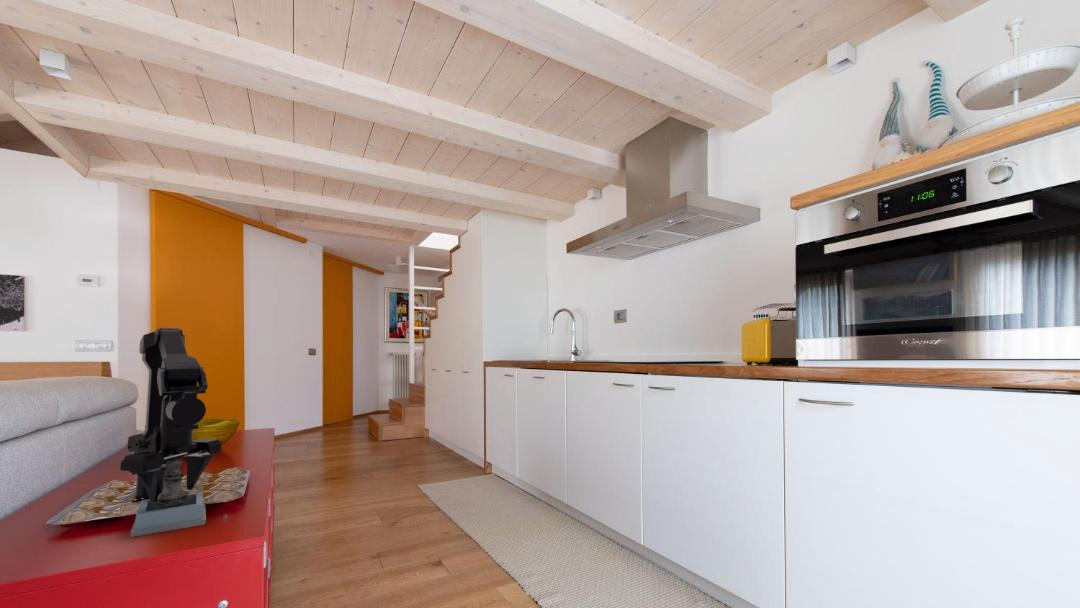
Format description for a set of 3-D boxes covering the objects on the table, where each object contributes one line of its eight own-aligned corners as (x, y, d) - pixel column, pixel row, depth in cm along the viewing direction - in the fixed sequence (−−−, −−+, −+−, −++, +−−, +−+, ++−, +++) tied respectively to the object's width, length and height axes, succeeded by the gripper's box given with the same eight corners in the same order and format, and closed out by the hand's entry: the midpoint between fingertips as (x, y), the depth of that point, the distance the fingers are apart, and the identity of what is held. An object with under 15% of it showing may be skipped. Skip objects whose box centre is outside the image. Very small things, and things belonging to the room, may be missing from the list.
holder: (136, 519, 103) (138, 500, 103) (204, 508, 110) (206, 490, 110) (130, 537, 93) (132, 516, 94) (205, 524, 100) (206, 504, 100)
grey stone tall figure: (176, 516, 99) (180, 457, 100) (145, 517, 98) (150, 457, 99) (194, 507, 105) (197, 451, 106) (165, 508, 104) (169, 451, 105)
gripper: (184, 413, 114) (179, 481, 113) (100, 426, 96) (93, 507, 94) (225, 415, 112) (221, 483, 111) (147, 428, 94) (141, 511, 92)
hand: (172, 495), depth 102 cm, fingers closed on grey stone tall figure, 8 cm apart
